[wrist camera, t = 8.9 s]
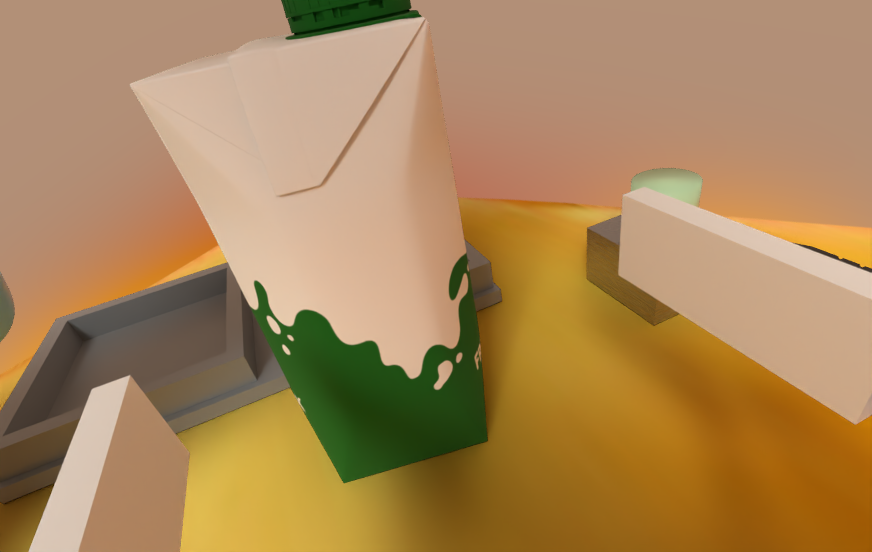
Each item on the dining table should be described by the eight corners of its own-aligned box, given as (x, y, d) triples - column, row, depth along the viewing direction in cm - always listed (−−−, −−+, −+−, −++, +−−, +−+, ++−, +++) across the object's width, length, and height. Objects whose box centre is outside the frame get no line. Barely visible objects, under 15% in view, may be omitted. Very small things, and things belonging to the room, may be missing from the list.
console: (653, 325, 26) (660, 267, 24) (586, 279, 31) (587, 227, 29) (731, 289, 27) (744, 232, 25) (655, 250, 32) (661, 199, 30)
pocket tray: (3, 504, 23) (-40, 469, 22) (78, 346, 35) (54, 316, 34) (502, 301, 30) (497, 264, 29) (425, 225, 42) (419, 196, 41)
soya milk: (512, 452, 21) (439, -93, 10) (321, 509, 20) (25, -12, 9) (465, 336, 28) (393, -50, 17) (323, 375, 27) (160, -2, 17)
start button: (661, 239, 25) (666, 199, 23) (616, 217, 28) (617, 180, 26) (711, 218, 26) (718, 179, 24) (662, 199, 28) (665, 163, 27)
